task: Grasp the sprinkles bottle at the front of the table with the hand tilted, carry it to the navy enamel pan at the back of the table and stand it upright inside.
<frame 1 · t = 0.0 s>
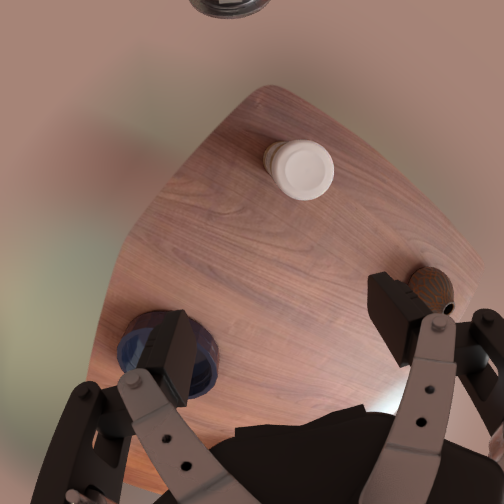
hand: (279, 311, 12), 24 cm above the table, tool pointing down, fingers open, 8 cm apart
vase: (418, 280, 39), on the table
pan: (171, 349, 42), on the table
sprinkles bottle: (281, 159, 32), on the table
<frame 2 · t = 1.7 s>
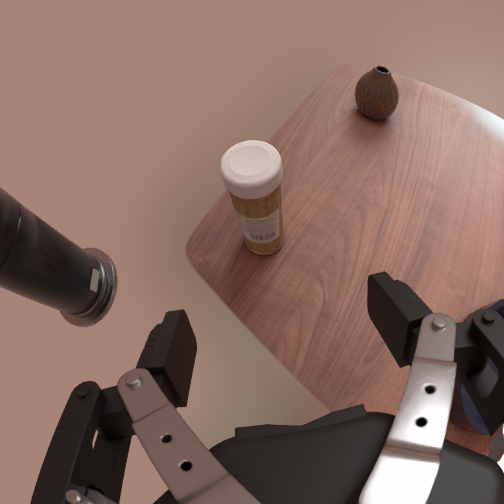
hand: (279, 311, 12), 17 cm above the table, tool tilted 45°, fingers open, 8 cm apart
vase: (372, 112, 38), on the table
pan: (487, 368, 22), on the table
sprinkles bottle: (264, 238, 32), on the table
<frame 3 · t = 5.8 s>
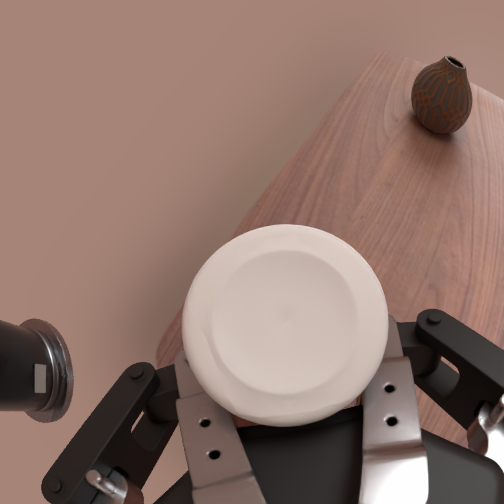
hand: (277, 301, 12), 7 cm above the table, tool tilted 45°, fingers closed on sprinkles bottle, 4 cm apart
vase: (431, 122, 24), on the table
sprinkles bottle: (285, 349, 18), on the table, touching gripper
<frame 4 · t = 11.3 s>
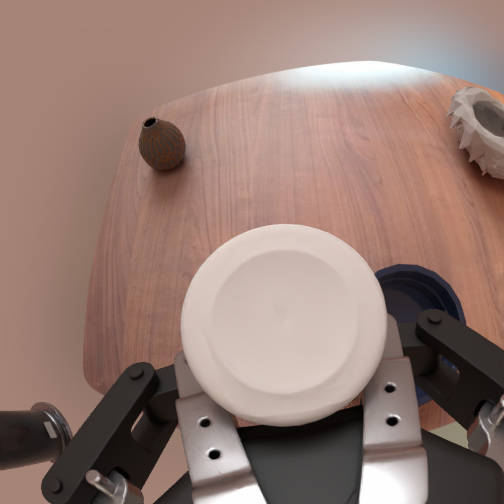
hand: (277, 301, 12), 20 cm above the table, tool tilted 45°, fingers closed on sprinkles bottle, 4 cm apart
vase: (170, 160, 42), on the table
pan: (395, 339, 29), on the table
sprinkles bottle: (285, 349, 18), point 13 cm above the table, touching gripper
bowl: (482, 154, 37), on the table
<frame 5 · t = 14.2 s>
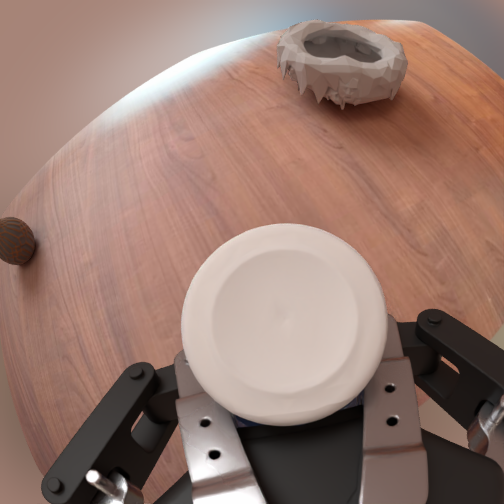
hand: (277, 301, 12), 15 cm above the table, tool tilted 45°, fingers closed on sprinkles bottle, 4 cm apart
vase: (28, 250, 34), on the table
sprinkles bottle: (285, 349, 18), point 8 cm above the table, touching gripper
bowl: (340, 88, 39), on the table
when the fingers open (7 cm above the table, at t = 16.7 s): sprinkles bottle stays where it is, resting on pan.
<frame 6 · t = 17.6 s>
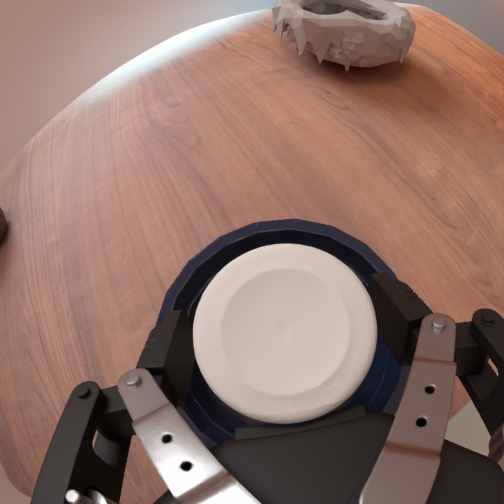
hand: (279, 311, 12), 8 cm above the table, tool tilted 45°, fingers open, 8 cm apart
vase: (0, 234, 28), on the table
pan: (285, 349, 19), on the table
sprinkles bottle: (285, 351, 19), resting on pan
bowl: (343, 55, 33), on the table
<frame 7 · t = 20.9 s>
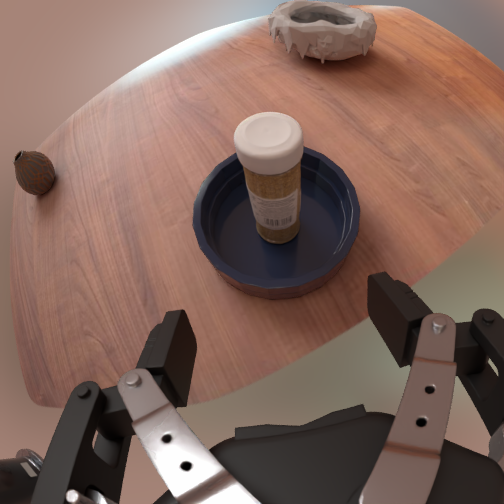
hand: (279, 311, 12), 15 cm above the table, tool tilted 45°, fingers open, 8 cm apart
vase: (47, 184, 39), on the table
pan: (277, 226, 30), on the table
sprinkles bottle: (277, 226, 29), resting on pan
bowl: (323, 52, 43), on the table
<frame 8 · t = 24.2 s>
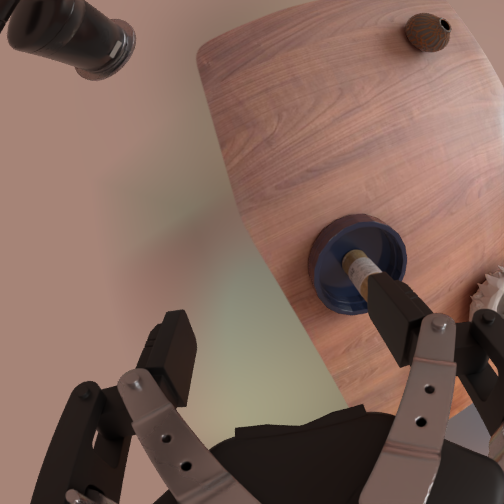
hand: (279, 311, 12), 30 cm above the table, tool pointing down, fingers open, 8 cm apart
vase: (415, 37, 30), on the table
pan: (353, 259, 44), on the table
sprinkles bottle: (353, 260, 44), resting on pan
bowl: (484, 293, 49), on the table
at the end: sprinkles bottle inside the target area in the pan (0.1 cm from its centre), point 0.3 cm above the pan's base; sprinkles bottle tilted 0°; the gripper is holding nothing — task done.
